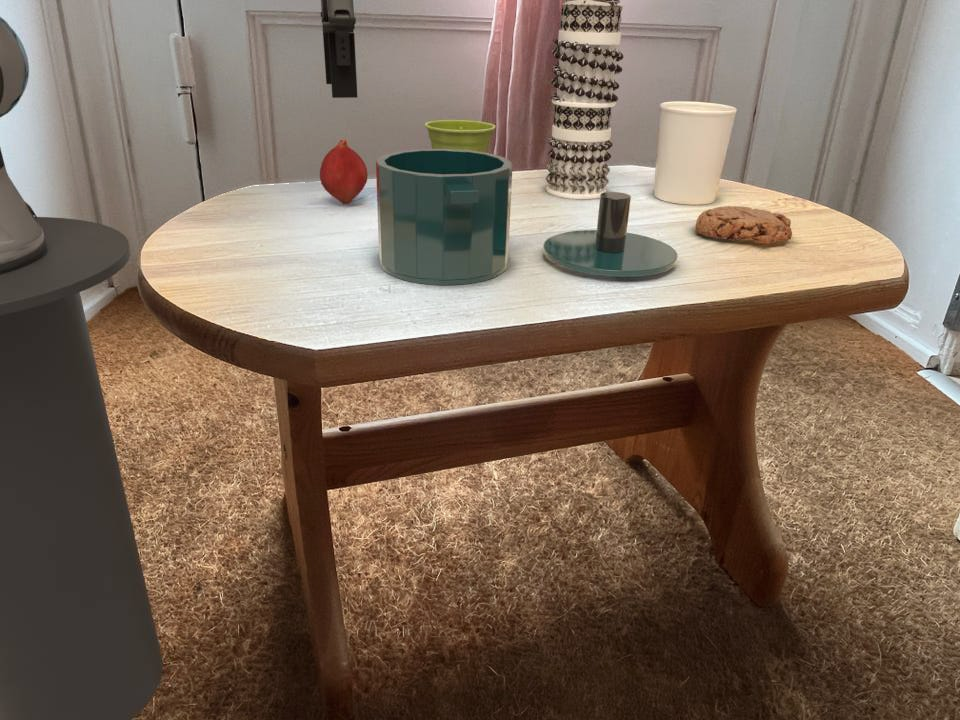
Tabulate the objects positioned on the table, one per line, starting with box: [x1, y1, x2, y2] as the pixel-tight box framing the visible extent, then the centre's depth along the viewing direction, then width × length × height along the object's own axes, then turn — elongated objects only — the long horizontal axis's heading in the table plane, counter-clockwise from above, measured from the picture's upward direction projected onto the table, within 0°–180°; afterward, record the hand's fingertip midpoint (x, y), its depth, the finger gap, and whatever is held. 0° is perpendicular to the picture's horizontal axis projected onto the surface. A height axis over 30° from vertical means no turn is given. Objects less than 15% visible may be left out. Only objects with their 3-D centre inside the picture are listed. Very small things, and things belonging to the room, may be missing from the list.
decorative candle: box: [545, 0, 624, 200], centre depth 97 cm, size 9×9×25 cm
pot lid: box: [542, 191, 678, 278], centre depth 74 cm, size 14×14×7 cm
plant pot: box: [424, 119, 496, 153], centre depth 100 cm, size 9×9×9 cm
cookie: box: [695, 205, 793, 244], centre depth 85 cm, size 10×11×3 cm
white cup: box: [653, 100, 738, 206], centre depth 99 cm, size 10×10×12 cm
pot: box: [375, 148, 514, 286], centre depth 71 cm, size 13×18×10 cm
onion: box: [319, 138, 368, 205], centre depth 91 cm, size 6×6×8 cm
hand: (340, 90), depth 87 cm, fingers open, 13 cm apart
